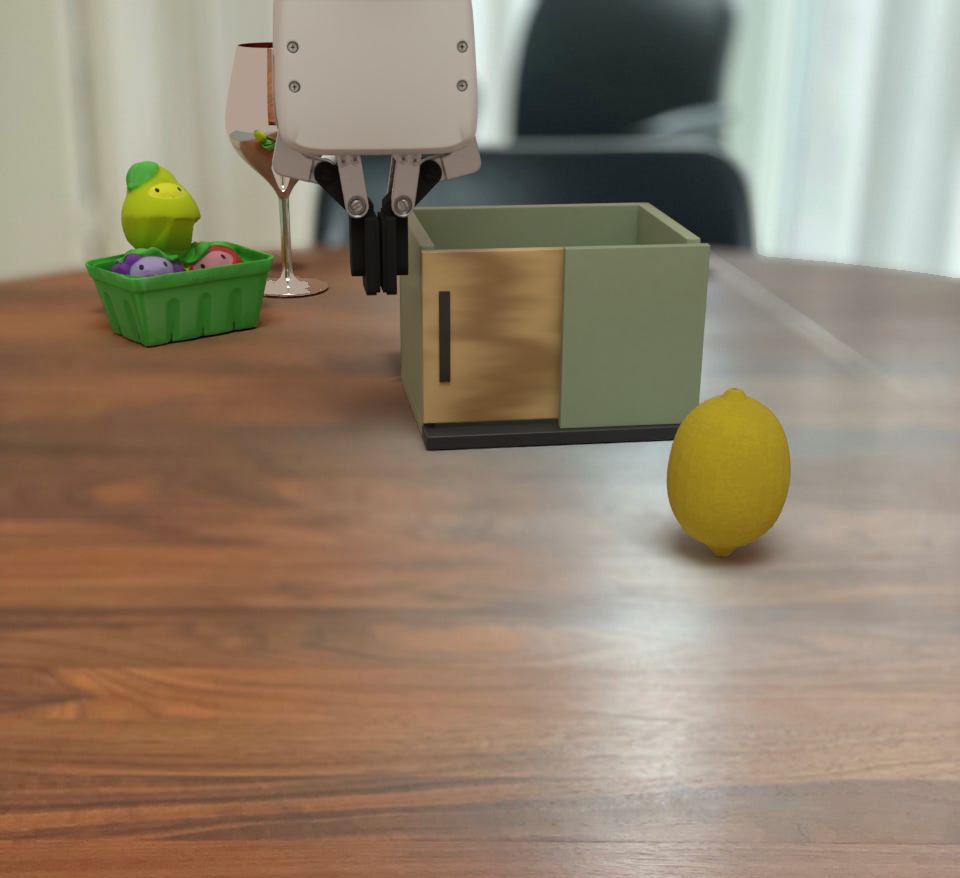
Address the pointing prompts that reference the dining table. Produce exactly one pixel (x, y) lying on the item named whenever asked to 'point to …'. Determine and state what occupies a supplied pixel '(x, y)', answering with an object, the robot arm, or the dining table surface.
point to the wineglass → (261, 142)
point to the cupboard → (582, 319)
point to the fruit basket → (175, 269)
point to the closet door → (491, 333)
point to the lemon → (728, 471)
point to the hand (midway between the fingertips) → (379, 288)
